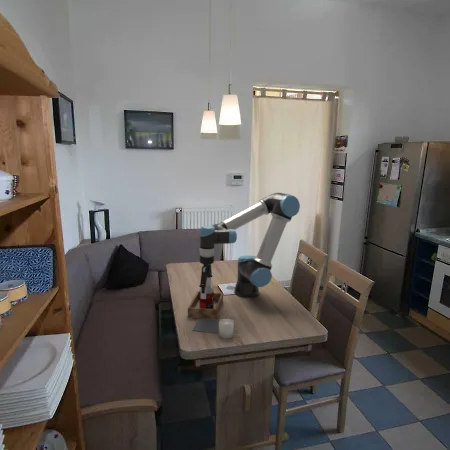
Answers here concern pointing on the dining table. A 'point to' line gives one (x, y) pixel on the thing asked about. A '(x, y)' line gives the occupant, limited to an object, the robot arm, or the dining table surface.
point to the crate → (204, 312)
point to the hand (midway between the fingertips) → (205, 293)
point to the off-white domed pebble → (226, 328)
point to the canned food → (207, 299)
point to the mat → (207, 325)
